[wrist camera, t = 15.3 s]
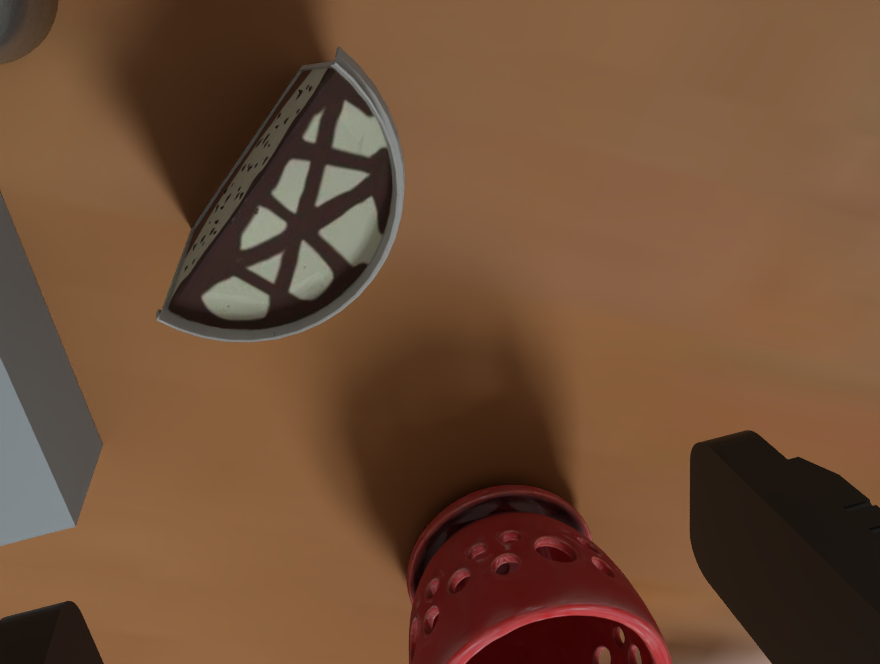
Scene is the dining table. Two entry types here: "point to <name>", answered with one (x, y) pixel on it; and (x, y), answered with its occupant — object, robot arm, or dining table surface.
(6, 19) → the round peg
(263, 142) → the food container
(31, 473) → the socket block
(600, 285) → the dining table surface
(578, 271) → the dining table surface
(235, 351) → the dining table surface
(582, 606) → the plant pot
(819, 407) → the dining table surface
